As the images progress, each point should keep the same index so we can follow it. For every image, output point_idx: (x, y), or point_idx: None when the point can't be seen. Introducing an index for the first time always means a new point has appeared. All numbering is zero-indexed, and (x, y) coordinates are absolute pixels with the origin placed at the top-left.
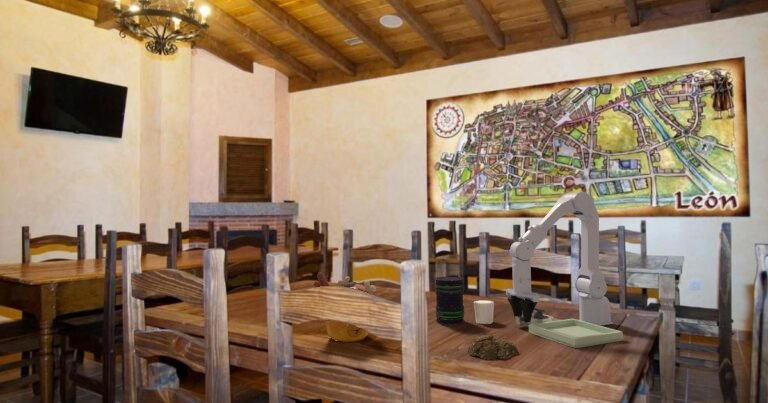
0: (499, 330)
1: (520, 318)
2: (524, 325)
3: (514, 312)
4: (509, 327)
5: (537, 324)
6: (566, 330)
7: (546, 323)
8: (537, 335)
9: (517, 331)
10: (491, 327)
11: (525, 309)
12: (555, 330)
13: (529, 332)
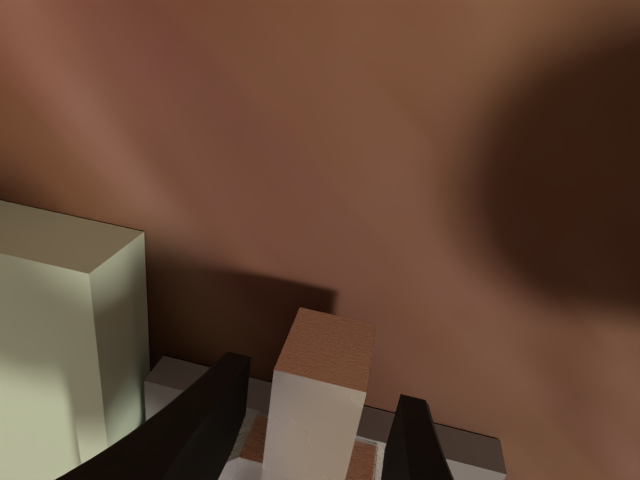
0: (412, 25)
1: (275, 373)
2: (371, 411)
3: (418, 468)
4: (433, 256)
5: (63, 346)
6: (5, 437)
7: (79, 435)
8: (22, 205)
9: (241, 181)
10: (626, 61)
11: (66, 475)
12: (30, 391)
13: (132, 230)
